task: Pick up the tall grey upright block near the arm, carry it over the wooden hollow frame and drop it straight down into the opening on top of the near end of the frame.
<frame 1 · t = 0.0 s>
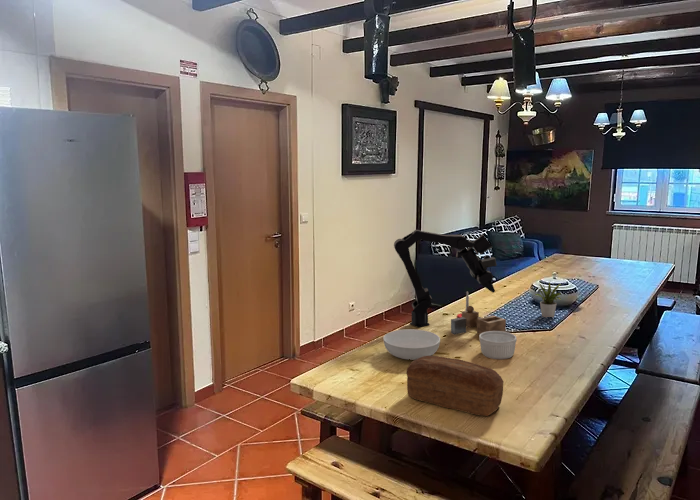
hand: (491, 289, 229), 15 cm above the table, tool tilted 35°, fingers open, 9 cm apart
tall grey upright block: (458, 332, 219), on the table
serving bowl: (411, 355, 196), on the table
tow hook: (466, 318, 240), on the table
house plant: (544, 316, 238), on the table
wooden hollow frame: (481, 329, 223), on the table
bread: (453, 402, 157), on the table
ramekin: (497, 354, 194), on the table
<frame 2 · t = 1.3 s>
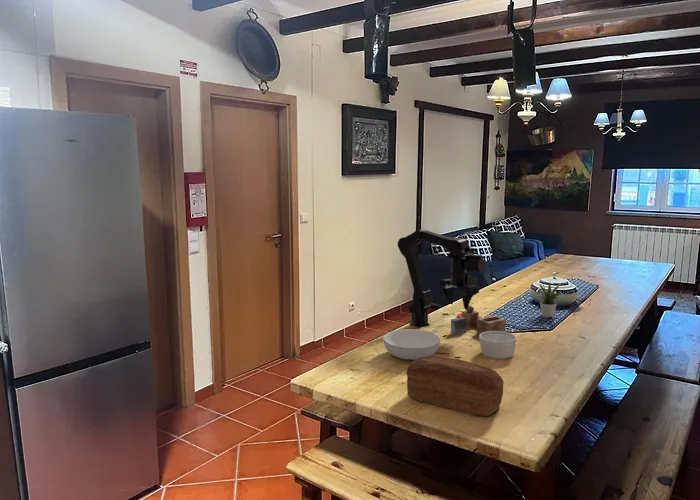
hand: (458, 306, 218), 11 cm above the table, tool pointing down, fingers open, 9 cm apart
nothing on the table moved.
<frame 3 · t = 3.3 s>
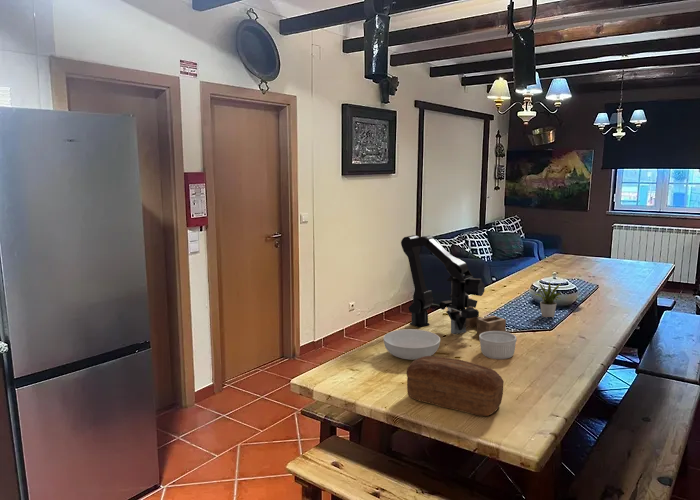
hand: (458, 329, 219), 2 cm above the table, tool pointing down, fingers closed on tall grey upright block, 2 cm apart
tall grey upright block: (458, 332, 219), on the table, touching gripper
everything else where it was.
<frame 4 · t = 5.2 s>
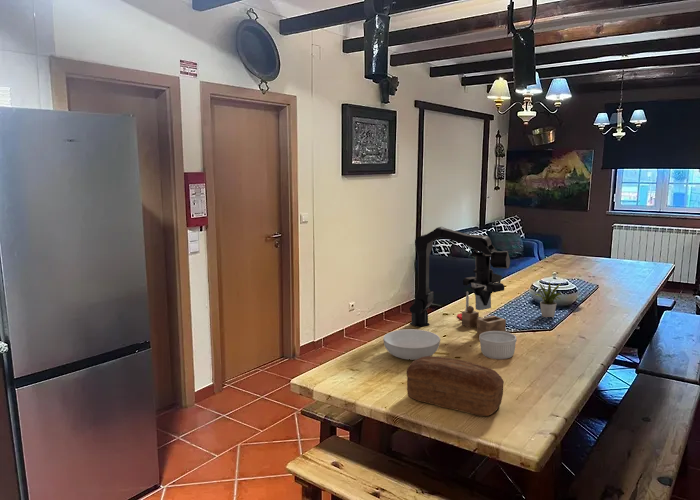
hand: (483, 304, 216), 12 cm above the table, tool pointing down, fingers closed on tall grey upright block, 2 cm apart
tall grey upright block: (483, 308, 216), point 11 cm above the table, touching gripper
everything else where it was.
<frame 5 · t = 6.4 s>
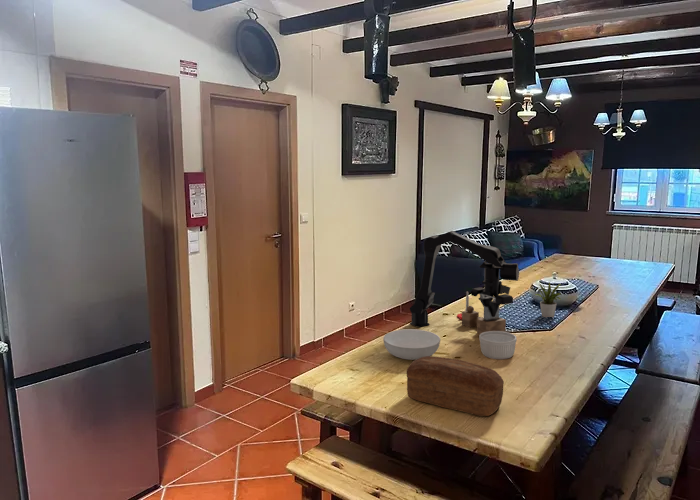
hand: (491, 316, 216), 7 cm above the table, tool pointing down, fingers closed on tall grey upright block, 2 cm apart
tall grey upright block: (491, 319, 216), point 6 cm above the table, touching gripper
everything else where it was.
when the fingers open (7 cm above the table, at t = 7.4 s): tall grey upright block drops 3 cm, resting on wooden hollow frame.
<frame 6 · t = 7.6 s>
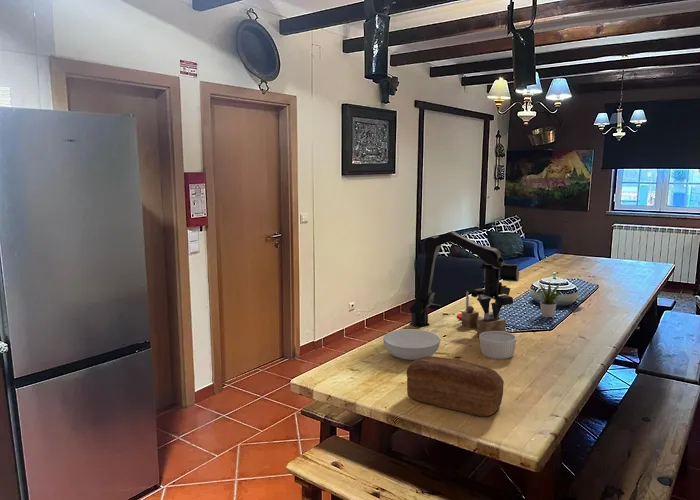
hand: (491, 316, 216), 7 cm above the table, tool pointing down, fingers open, 5 cm apart
tall grey upright block: (491, 327, 217), point 3 cm above the table, touching wooden hollow frame
everything else where it was.
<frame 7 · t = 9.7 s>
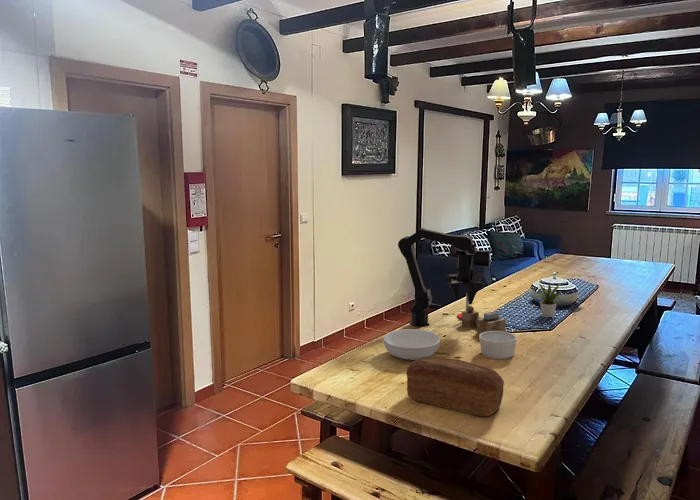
hand: (463, 301, 224), 11 cm above the table, tool pointing down, fingers open, 9 cm apart
nothing on the table moved.
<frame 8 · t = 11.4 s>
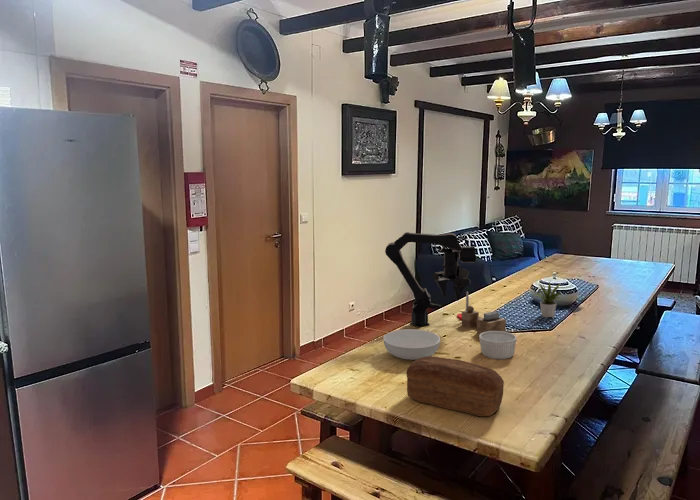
hand: (450, 298, 228), 12 cm above the table, tool pointing down, fingers open, 9 cm apart
nothing on the table moved.
at the end: tall grey upright block 0.1 cm from the target spot on the wooden hollow frame, point 2.5 cm above the wooden hollow frame's base; tall grey upright block tilted 0°; the gripper is holding nothing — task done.
